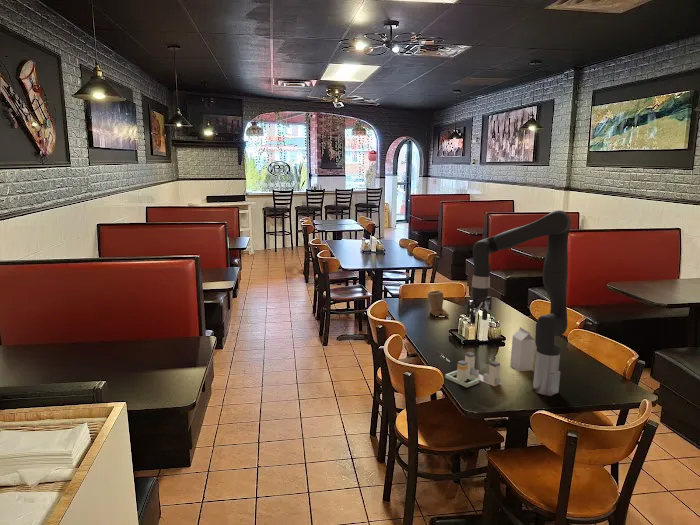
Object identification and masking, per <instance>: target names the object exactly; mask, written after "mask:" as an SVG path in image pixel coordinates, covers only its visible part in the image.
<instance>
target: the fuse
mask: <svg viewBox="0 0 700 525" xmlns="http://www.w3.org/2000/svg"><path fill="white" fill-rule="evenodd" d="M456 368H457V369H456V371H457V375H456V378H457V379H459V380H461V381H463V382H466V381H467V380H468V379H467V368H468V362H466V361H465V360H463V359H462V360H459V361H457V367H456Z"/></svg>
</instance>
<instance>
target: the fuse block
mask: <svg viewBox="0 0 700 525" xmlns="http://www.w3.org/2000/svg"><path fill="white" fill-rule="evenodd" d="M464 356H465V357H464V358H465V359H464V361H466V362H468V368H467V374H468V375H470V376H472V377H475V378H477V379H479V382H480V381H481V382H483V383H485V384H487V385H491V386H492V387H497V386H500V385H502V383H503V382H501V378H499V377H500V367H501V363H500V362H499V361H495V360H493V361H490V362H489V366H488V372H487V373H483V375H482V374H480V370H479V369H476V368H475V363H476V353H474V352H471V351H468V352H465V355H464Z"/></svg>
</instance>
